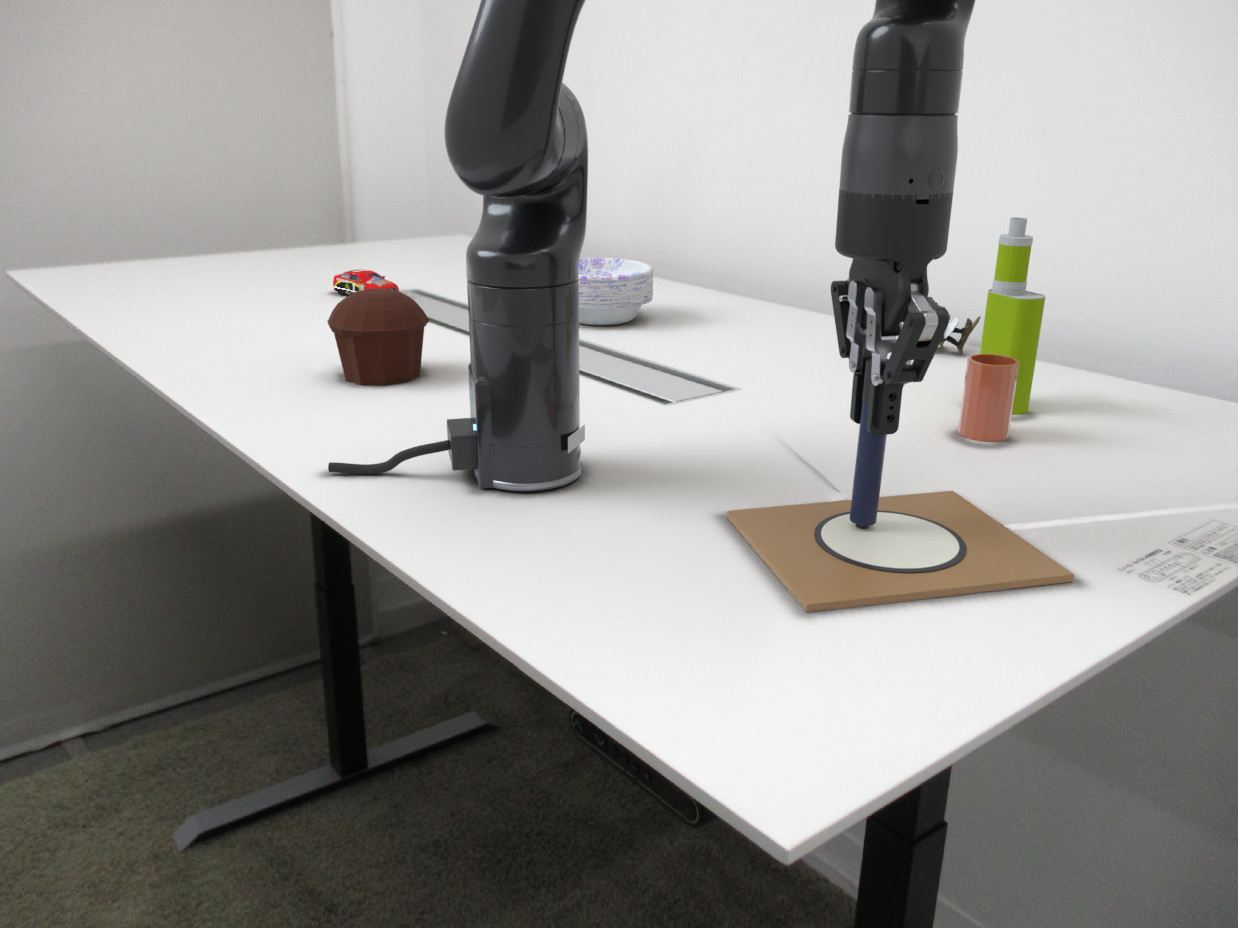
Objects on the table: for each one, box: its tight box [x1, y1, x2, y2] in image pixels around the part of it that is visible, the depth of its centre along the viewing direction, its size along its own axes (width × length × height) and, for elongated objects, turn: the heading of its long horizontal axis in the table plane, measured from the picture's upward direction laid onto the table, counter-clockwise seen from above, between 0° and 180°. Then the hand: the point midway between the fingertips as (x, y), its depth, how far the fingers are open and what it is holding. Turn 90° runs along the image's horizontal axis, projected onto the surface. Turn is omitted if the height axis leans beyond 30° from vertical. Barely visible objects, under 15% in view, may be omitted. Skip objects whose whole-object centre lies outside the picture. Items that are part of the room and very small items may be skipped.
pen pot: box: [957, 353, 1019, 443], centre depth 98 cm, size 5×5×8 cm
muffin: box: [326, 288, 430, 386], centre depth 118 cm, size 12×11×10 cm
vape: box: [979, 217, 1046, 416], centre depth 104 cm, size 4×6×20 cm, turn 27°
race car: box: [332, 269, 400, 296], centre depth 164 cm, size 13×5×4 cm, turn 49°
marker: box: [850, 358, 889, 529], centre depth 75 cm, size 2×2×13 cm
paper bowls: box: [579, 257, 654, 326], centre depth 148 cm, size 15×15×8 cm
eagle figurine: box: [927, 296, 981, 356], centre depth 132 cm, size 8×7×9 cm
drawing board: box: [726, 490, 1075, 613], centre depth 75 cm, size 20×16×1 cm
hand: (873, 426), depth 74 cm, fingers closed on marker, 2 cm apart
